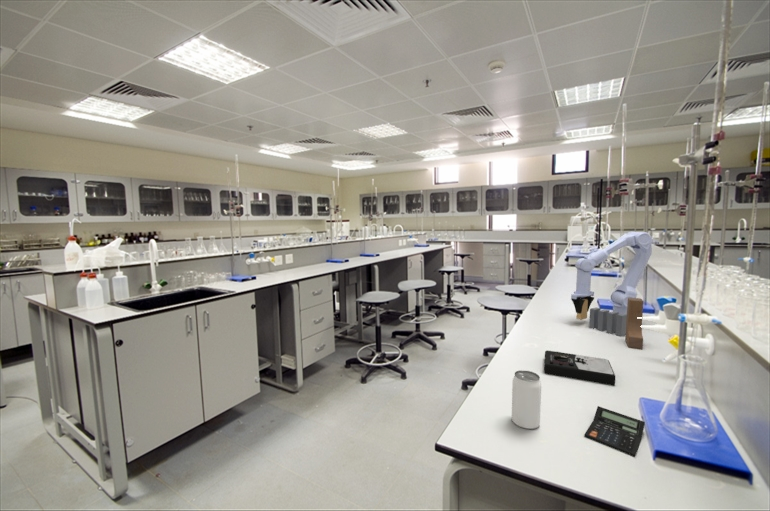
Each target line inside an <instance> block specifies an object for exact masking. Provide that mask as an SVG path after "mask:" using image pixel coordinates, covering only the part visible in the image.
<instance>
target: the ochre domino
mask: <svg viewBox="0 0 770 511" xmlns="http://www.w3.org/2000/svg"><path fill="white" fill-rule="evenodd" d="M583 300H585V301H584V303H583V306H582V312H581V313H576V319H577V320H585V319H587V318H588V312H587V309H588V300H587V299H583Z"/></svg>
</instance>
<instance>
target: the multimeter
mask: <svg viewBox="0 0 770 511" xmlns="http://www.w3.org/2000/svg"><path fill="white" fill-rule="evenodd" d="M543 365H544V366H543V367H544V368H543V370H544V371H543V373H544V374H546V375H549V376H551V375H552V376H556V377H557V376H558V377H562V378H568V379H573V380H574V379H575V380H578V381H579V380H580V381H585V382H592V383H595V384H602V385H608V386H613V387H614V386H615V385H616V374H615V371H614V370H613V367H612V365H611V363H610V361H609V359H607V358H601V357H596V356H590V355H582V354H575V353H574V354H573V353H568V352H567V353H566V352H560V351H555V350H554V351H553V350H545V351H544V363H543Z"/></svg>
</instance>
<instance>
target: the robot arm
mask: <svg viewBox="0 0 770 511" xmlns="http://www.w3.org/2000/svg"><path fill="white" fill-rule="evenodd" d="M653 241H654V239H653V237H652V235H650V233H649V232H646V231H633V230H631V231H629V232H626V233H625V234H622V235H621V236H620V237H619V238H617V239H616V240H615V241H613V242H612V243H610V244H609V245H607V246H606V247H604V248H595V249H593V251H592V252H590V253H589V254H588V255H584V256H583V257H584V258H581V257H580V258H579V259H577V260H576V262H575V263H574V267H575V269H576V282H575V284H576V286H575V287H576V288H575V291H573V293H572V294H571V296H570V297H571V298H570V300H571V301H572V304H573V305H574V309H575V313H576V314H577V313H581V312H582V306H583V303H584V301H585V300H583V299H587V300H588V309H587V313H588V312H589V311H590V308H591V304H592V302H594V300H595V291H591V281H592V271H593V270H594V269H595V267H597V265H599V264H601V263H603V262H604V261H606V260H607V259H608V257H609V255H611V254H613V253H614V252H616V251H618V250H620V249H622V248H624V247H628V246H629V247H630V248H632V251H634V255H633V259H632V261H631V262H630V265H629V268H628V269H627V272H626V274H625V276H624V278H623V281H622V282H621V284H620V285H618V286H616V288H615V290H614V291H612V292H611V294H610V300H611V301H612V312H613V311H615V312H619V314H622V313H624V314H627V304H628V298H637V296H638V293H637V290H636V288H637V286H638V284H639V282H640V279H641V277H642V275H643V274H644V271H645V270H646V266H647V264H648V262H649V260H650V258H651V256H652V253H653V252H652V244H653Z"/></svg>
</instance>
